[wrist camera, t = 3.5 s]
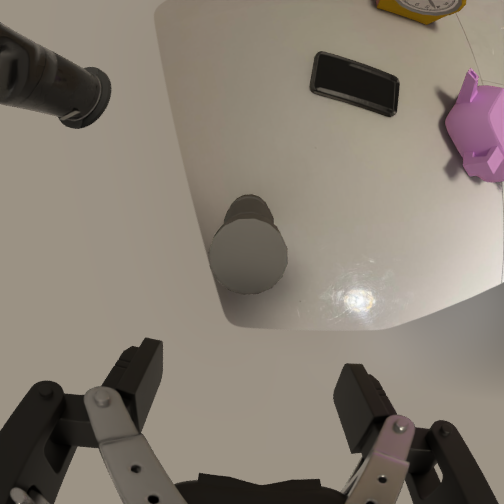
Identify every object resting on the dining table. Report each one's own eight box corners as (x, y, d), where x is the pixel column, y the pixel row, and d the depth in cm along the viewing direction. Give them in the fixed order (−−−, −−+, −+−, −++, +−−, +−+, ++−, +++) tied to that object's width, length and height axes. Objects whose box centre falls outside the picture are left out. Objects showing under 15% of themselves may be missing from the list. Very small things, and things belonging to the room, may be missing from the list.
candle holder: (235, 238, 46) (218, 306, 22) (224, 200, 45) (194, 227, 20) (273, 228, 46) (299, 286, 21) (263, 189, 44) (280, 204, 20)
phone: (396, 117, 40) (310, 90, 39) (393, 118, 41) (308, 91, 40) (400, 77, 38) (317, 49, 37) (397, 79, 39) (315, 51, 38)
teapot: (429, 81, 39) (479, 61, 24) (490, 97, 39) (537, 88, 24) (441, 182, 44) (497, 188, 29) (499, 184, 43) (549, 192, 29)
